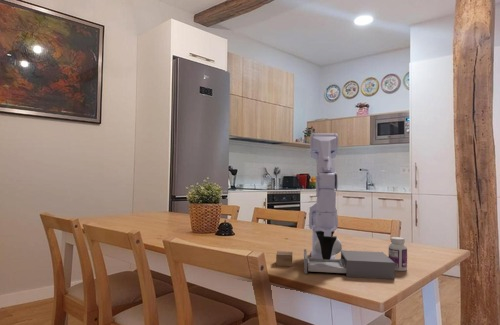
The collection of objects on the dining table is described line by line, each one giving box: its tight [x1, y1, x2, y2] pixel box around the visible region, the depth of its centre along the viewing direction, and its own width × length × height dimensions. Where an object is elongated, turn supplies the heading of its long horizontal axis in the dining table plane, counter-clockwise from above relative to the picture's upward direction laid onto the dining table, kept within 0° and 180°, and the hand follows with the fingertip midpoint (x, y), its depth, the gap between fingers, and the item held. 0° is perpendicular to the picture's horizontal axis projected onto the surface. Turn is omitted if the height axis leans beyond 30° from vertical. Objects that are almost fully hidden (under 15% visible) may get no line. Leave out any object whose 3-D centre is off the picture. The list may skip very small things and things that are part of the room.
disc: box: [315, 237, 343, 256], centre depth 111 cm, size 8×8×2 cm
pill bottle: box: [388, 236, 408, 272], centre depth 114 cm, size 5×5×10 cm
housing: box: [340, 249, 396, 280], centre depth 110 cm, size 14×13×5 cm
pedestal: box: [275, 250, 293, 267], centre depth 117 cm, size 5×5×4 cm
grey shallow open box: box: [303, 248, 347, 275], centre depth 112 cm, size 14×13×4 cm
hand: (325, 256), depth 112 cm, fingers closed on disc, 7 cm apart
